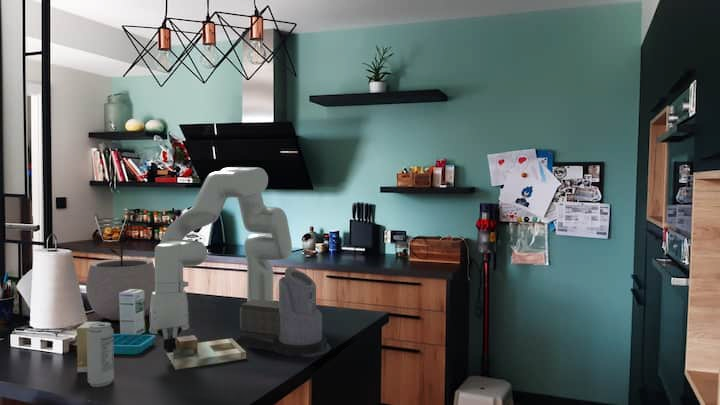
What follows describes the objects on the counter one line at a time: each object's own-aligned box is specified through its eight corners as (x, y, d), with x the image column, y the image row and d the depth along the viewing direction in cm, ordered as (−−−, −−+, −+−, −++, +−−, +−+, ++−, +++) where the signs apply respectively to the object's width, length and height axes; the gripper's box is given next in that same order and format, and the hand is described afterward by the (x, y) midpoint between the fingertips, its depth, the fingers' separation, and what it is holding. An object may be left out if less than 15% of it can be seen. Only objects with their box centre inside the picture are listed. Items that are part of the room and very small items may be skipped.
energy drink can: (100, 377, 143) (99, 320, 142) (119, 380, 141) (118, 322, 140) (82, 386, 137) (81, 326, 136) (101, 389, 135) (101, 328, 134)
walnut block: (194, 348, 161) (194, 335, 161) (197, 353, 156) (197, 339, 156) (176, 351, 158) (176, 337, 158) (179, 356, 154) (179, 342, 154)
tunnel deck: (231, 344, 171) (231, 331, 171) (245, 358, 158) (245, 345, 158) (166, 353, 162) (166, 340, 162) (175, 369, 149) (175, 355, 149)
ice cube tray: (140, 356, 161) (140, 346, 161) (73, 354, 162) (73, 344, 162) (157, 344, 172) (157, 334, 172) (94, 342, 174) (94, 333, 173)
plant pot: (79, 316, 204) (78, 236, 203) (145, 307, 219) (145, 232, 217) (95, 331, 185) (94, 242, 184) (166, 320, 200) (165, 238, 199)
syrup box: (135, 337, 179) (135, 292, 178) (119, 335, 180) (118, 292, 179) (145, 332, 184) (145, 289, 184) (130, 331, 186) (129, 288, 185)
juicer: (338, 344, 173) (338, 267, 172) (316, 360, 158) (316, 275, 157) (256, 333, 184) (256, 261, 183) (228, 347, 169) (228, 268, 168)
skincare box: (86, 364, 152) (85, 321, 152) (102, 364, 153) (101, 321, 152) (76, 373, 146) (75, 327, 145) (93, 372, 146) (92, 327, 146)
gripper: (193, 282, 161) (193, 344, 162) (139, 287, 154) (139, 351, 155) (199, 287, 155) (199, 351, 155) (142, 292, 148) (143, 359, 148)
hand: (169, 351), depth 155 cm, fingers closed
